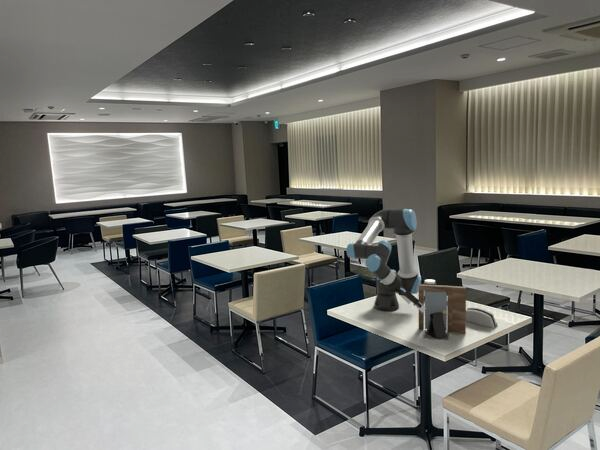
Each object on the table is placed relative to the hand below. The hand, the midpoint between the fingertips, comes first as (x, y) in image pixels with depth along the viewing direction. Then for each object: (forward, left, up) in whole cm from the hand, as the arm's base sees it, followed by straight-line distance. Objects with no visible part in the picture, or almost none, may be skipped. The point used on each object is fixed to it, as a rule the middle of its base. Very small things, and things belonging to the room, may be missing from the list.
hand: (417, 306), depth 225 cm
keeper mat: (-6, +9, -17) cm, 20 cm away
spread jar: (-72, +2, -17) cm, 74 cm away
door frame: (-13, +11, -17) cm, 24 cm away
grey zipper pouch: (-30, +31, -17) cm, 46 cm away
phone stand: (-6, +9, -17) cm, 20 cm away
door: (-13, +8, -16) cm, 22 cm away
